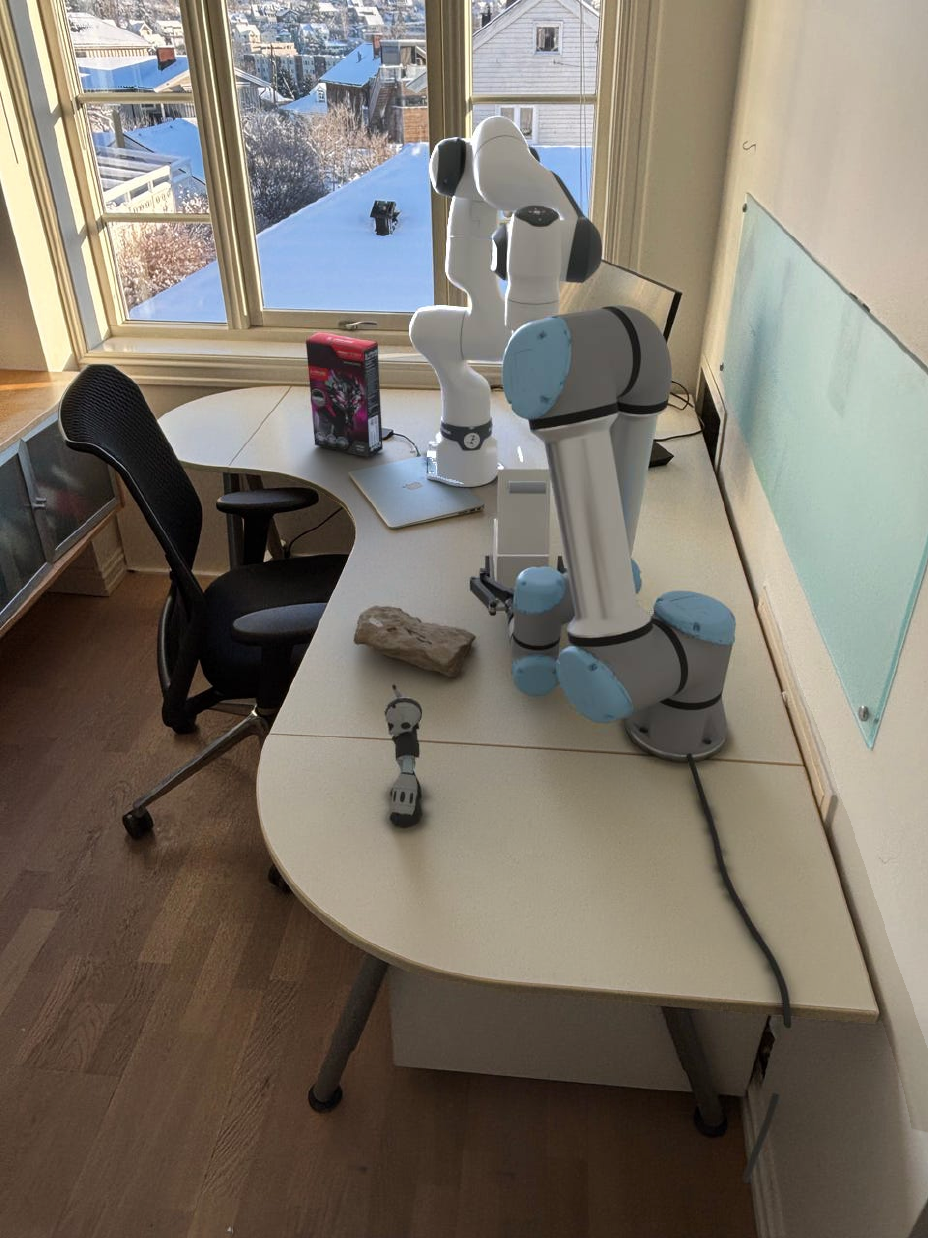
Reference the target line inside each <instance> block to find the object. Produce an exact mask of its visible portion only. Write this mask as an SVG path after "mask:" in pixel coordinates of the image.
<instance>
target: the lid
mask: <svg viewBox="0 0 928 1238" xmlns="http://www.w3.org/2000/svg"><path fill="white" fill-rule="evenodd" d="M551 485H552V482H551V477H550V471H549V468H504V469H498V476H497V519H498V525H497V554H548V555H550V538H551V537H550V534H551V527H550V526H551Z"/></svg>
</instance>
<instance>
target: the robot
mask: <svg viewBox="0 0 928 1238" xmlns="http://www.w3.org/2000/svg"><path fill="white" fill-rule="evenodd" d="M391 688H392V690H393V692H394V695H395V697H396V698H395V699H393V700H392V701H390V702H389V703H388V704H387V705H386V707H385V710H384V711H383V712H384V714H383V715H384V716H385V718H384V719H385V721H386V723H387V728H388V735H389V736H392V737H391V740H392V741H393V744H394V745H395V746H394V751H395V752H394V754H395V755H394V757H395V762H396V763H397V765H398V767H399V770H400V771H399V772H400V773H398V776H397V777H396V779H395V781H394V783H393V787H392V788H391V790H390V793H389V794H390V797H391V802H390V805H391V814H390V816H389V821H390V822H392V823H393V825H394V826H396V827H400V828H408V827H411V826H413V825H416V824H418V823H420V822H421V819H422V816H423V812H422V811H423V810H422V805H421V801H420V799H421V798H422V797H423V794H422V787H421V784H420V781H419V778H418V777H417V774H416V773H415V771H414V769H415V767H416V758H419V759H420V755H421V754H420V742H419V739H418V731H419V729H420V723H419V722H421V720H422V717H423V708H422V706H421V704H420V703H419V702H418V701H417V700H415V699H414V698H411V697H409V696H403V695H402V694H401V692H400V691H399V688H398V687H397V686H396V684H392V685H391Z"/></svg>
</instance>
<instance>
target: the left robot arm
mask: <svg viewBox="0 0 928 1238" xmlns="http://www.w3.org/2000/svg"><path fill="white" fill-rule="evenodd" d="M429 174H430V175H429V176H430V179H431V182H432V187H433V189H434V190H435V192H436V193H437V194H438V195H440V196H443V197H446V198H450V199H452V201H451V204H450V210H449V215H448V216H449V217H448V224H447V234H446V235H447V238H446V253H445V254H446V255H445V276H446V277H447V279H448V280H449V282H450V283H451V284H452V285H454V286H455V287H457V289H460V290H461V291H463V292H464V293H466V294H467V295H468V298H469V302H470V306H469V307H466V306H465V307H464V306H453V305H441V304H440V305H433V306H431V305H430V306H425V307H420V308H419V309H418V310H417V311H415V313H414V314H413V315H412V318H411V321H410V322H409V328H408V329H409V330H408V331H409V332H408V333H409V339H410V342H411V344H412V346H413V348H414V349H415V351H416V352H418V353H419V354H420V355H421V356H423V358H425V359H426V361H427V362H428V363H429V365H430V366H431V367H432V369H433V371H434V372H435V375H436V376H437V380H438V383H439V386H440V393H441V394H440V395H441V409H442V415H441V417H440V420H439V432H438V433H437V434H436V435H435V441H429V442H428V451H427V454H426V458H427V457H432V458H430V459H432V461H433V463H436V464H435V465H436V475H438V476H440V477H443V478H445V479H446V478H447V479H452V480H456V481H459V482H462V483H464V484H460V483H453V482H449V481H446V480H443V479H441V478H437V477H432V476H428V475H427V474H426V479H428V480H431V481H437V482H440V483H443V484H445V485H448V486H453V487H459V488H460V487H461V488H470V487H471V488H472V487H479V486H480V487H481V486H483V485H486V484H489V483H491V482H493V481H494V480H495V479H496V478H497V477H498V469H505V467H504V466H503V465H502V464H501V463H500V462H499V441H498V440H497V439H496V437H495V436H493V417H492V416H491V409H492V407H491V405H492V389H491V386H490V384H489V382H488V381H487V380H486V378H485V377H484V376H483V375H481V374H480V373H478V372H476V371H475V370H474V369H473V368H472V367H471V366H470V365H469V363H468V361H475V362H484V363H503V358H504V354H505V350H506V348H507V347H508V343H509V340H510V339H511V337H512V335H513V334H514V333H515V332H516V331H517V330H518V329H519V328H520V327H521V326H523V325H525V324H527V323H529V322H533V321H536V320H540V319H543V318H547V317H548V316H556V315H560V303H561V302H560V301H561V293H560V289H559V288H560V287H559V282H566V283H574V284H584V282H586V281H587V280H588V279H590V278H591V277H592V276H593V275H594V274H595V273H596V272H597V270H598V269H599V268H600V266H601V263H602V259H603V258H602V257H603V242H602V237H601V233H600V231H599V229H598V228H597V227H596V225H595V224H594V223H593V222H592V221H591V219H589V218H588V217H587V216H586V215H585V214H584V213H583V211H582V209H581V207H580V206H579V205H578V202H576V199H575V198H574V197H573V195H572V194H571V191H570V190H569V188H568V186H567V185H566V184H565V182H564V181H563V180H562V178H561V177H560V175H558V174H557V173H555V172H554V171H553V170H551V169H548V168H547V167H546V166H545V165H544V164H542V163H541V159H540V155H539V152H538V151H537V149H536V148H535V147H533V146H530V145H529V144H528V142H527V139H526V138H525V136H524V135H523V133H522V131H521V130H520V128H519V127H518V125H517V124H516V123H515V122H514V121H512V120H511V119H510V118H508V117H506V116H503V115H501V116H500V115H495V116H490V117H487V118H486V119H484V120H483V121H481V122H480V123H479V125H478V126H477V127H476V128H475V131H474V132H473V135H472V138H461V137H460V136H458V137H450V138H446V139H442V140H441V141H439V142H438V143H437V144H436V145H435V147H434V150H433V152H432V155H431V158H430V162H429ZM501 211H502V212H509V213H512V215H511V218H510V220H509V221H505V222H503V223H501ZM499 279H501V280H502V281H507V282H508V285H507V288H506V292H505V296H504V294H503V291H502V288H501V284H500V280H499ZM517 452H518V455H519V459H520V462H521V463H523V461H524V459H523V454H522V450H521V446H518V448H517ZM434 472H435V471H429V473H434Z"/></svg>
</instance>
